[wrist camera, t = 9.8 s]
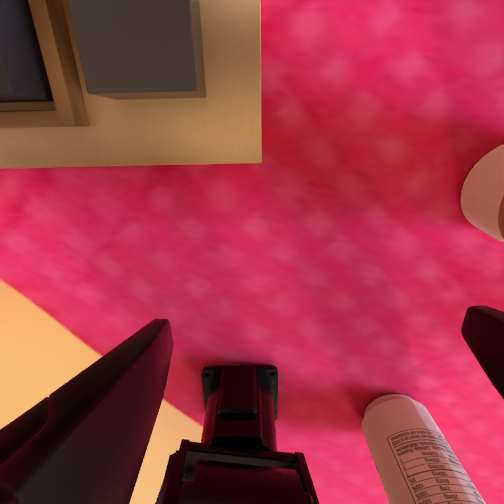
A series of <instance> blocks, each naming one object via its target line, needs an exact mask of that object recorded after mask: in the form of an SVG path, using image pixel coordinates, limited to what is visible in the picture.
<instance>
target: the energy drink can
mask: <svg viewBox="0 0 504 504" xmlns="http://www.w3.org/2000/svg"><path fill="white" fill-rule="evenodd" d="M362 430H363V433H364V435H365V438H366V441H367V443H368V446H369V449H370V452H371V454H372V457H373V460H374V462H375V465H376V468H377V471H378V473H379V476H380V479H381V481H382V484H383V487H384V490H385V492H386V495H387V498H388V500H389V503H390V504H486V503H485V502H484V500H483V498H482V497H481V495H480V494H479V492H478V490H477V489H476V487H475V486H474V484H473V482H472V481H471V479H470V478H469V476H468V474H467V473H466V471H465V470H464V468H463V466H462V465H461V463H460V462H459V460H458V458H457V457H456V455H455V454H454V452H453V450H452V449H451V447H450V446H449V444H448V442H447V441H446V439H445V438H444V436H443V434H442V433H441V431H440V430H439V428H438V426H437V425H436V423H435V422H434V420H433V418H432V417H431V415H430V414H429V412H428V410H427V409H426V407H425V406H424V405H422V404H421V403H419V402H417V401H415V400H413V399H412V398H410V397H409V396H406V395H403V394H388V395H384V396H381V397H379V398H377V399H375V400H374V401H372V402H371V403H370V404H369V405H368V406H367V408H366V410H365V412H364V419H363V421H362Z"/></svg>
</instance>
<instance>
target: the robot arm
mask: <svg viewBox="0 0 504 504" xmlns="http://www.w3.org/2000/svg"><path fill="white" fill-rule="evenodd" d="M461 332H462V336H463V338H464V340H465V341H466V343H467V344H468V346H469V348H470V349H471V351H472V352H473V354H474V356H475V357H476V359H477V360H478V362H479V364H480V365H481V367H482V368H483V370H484V372H485V373H486V375H487V376H488V378H489V379H490V381H491V382H492V384H493V385H494V387H495V388H496V390H497V391H498V392H499V394H500V395H501V396H502V398H503V399H504V312H502V311H499V310H496V309H493V308H490V307H488V306H471V307H469V308H468V309H467V311H466V314H465V318H464V321H463V324H462V328H461ZM172 351H173V337H172V332H171V327H170V322H169V320H168V319H154V320H152V321H151V322H150V323H148V324H147V325H146V326H144V327H143V328H141V329H140V330H139V331H137V332H136V333H135V334H133V335H132V336H130V337H129V338H128V339H126V340H125V341H123V342H122V343H121V344H119V345H118V346H117V347H115V348H114V349H112V350H111V351H110V352H108V353H107V354H105V355H104V356H103V357H101V358H100V359H99V360H97V361H96V362H95V363H93V364H92V365H90V366H89V367H88V368H86V369H85V370H83V371H82V372H81V373H79V374H78V375H77V376H75V377H74V378H72V379H71V380H70V381H68V382H67V383H65V384H64V385H63V386H61V387H60V388H58V389H57V390H56V391H54V392H53V393H52V394H50V396H49V397H46V398H44V399H43V400H42V401H40V402H39V403H38V404H36V405H35V406H34V407H32V408H31V409H29V410H28V411H26V412H25V413H24V414H22V415H21V416H19V417H18V418H16V419H15V420H14V421H12V422H11V423H9V424H8V425H7V426H5V427H3V428H2V429H1V430H0V504H129V503H130V500H131V496H132V493H133V490H134V487H135V483H136V481H137V478H138V474H139V471H140V468H141V465H142V462H143V459H144V456H145V452H146V449H147V446H148V443H149V440H150V436H151V434H152V430H153V427H154V424H155V421H156V418H157V415H158V412H159V408H160V405H161V402H162V399H163V395H164V390H165V386H166V381H167V376H168V371H169V366H170V361H171V356H172ZM271 371H273V372H271ZM207 372H208V373H207ZM201 376H202V384H203V392H204V401H205V409H206V414H205V420H204V427H203V433H202V439H201V443H197V442H189V440H185V439H182V441H181V445H180V449H179V451H178V450H177V451H176V453H174V454H172V455H170V457H169V461H168V465H167V469H166V473H165V477H164V480H163V483H162V486H161V489H160V492H159V495H158V498H157V501H156V503H155V504H319V501H318V498H317V495H316V492H315V489H314V486H313V482H312V479H311V476H310V473H309V470H308V467H307V464H306V460H305V457H304V454H303V453H300V452H295V453H287V452H278V451H277V441H276V429H275V421H276V420H277V393H278V370H277V368H276V367H275V366H216V367H204V368H203V369H202V374H201Z"/></svg>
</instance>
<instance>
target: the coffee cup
mask: <svg viewBox="0 0 504 504" xmlns="http://www.w3.org/2000/svg"><path fill="white" fill-rule="evenodd" d="M460 202H461V209H462V211H463V214H464V216H465V217H466V219H467V220H468V221H469V222H470V223H471V224H472V225H473V226H475V227H476V228H478V229H480V230H482V231H483V232H485V233H487V234H489V235H490V236H492V237H494V238H496V239H498V240H499V241H501V242H503V243H504V144H503V145H500V146H498V147H497V148H495V149H493V150H491V151H490V152H488V153H487V154H486V155H485V156H483V157H482V158H481V159H480V160H479V161H478V162H477V163H476V164H475V165H474V167H473V168H472V169H471V171H470V172H469V174H468V175H467V177H466V179H465V182H464V184H463V187H462V191H461V199H460Z"/></svg>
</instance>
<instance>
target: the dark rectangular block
mask: <svg viewBox="0 0 504 504" xmlns="http://www.w3.org/2000/svg"><path fill="white" fill-rule="evenodd" d="M51 101H54V99H53V95H52V91H51V87H50V84H49V80H48V76H47V72H46V68H45V64H44V60H43V57H42V53H41V49H40V45H39V41H38V37H37V33H36V30H35V26H34V22H33V18H32V14H31V10H30V6H29V2H28V0H0V103H12V102H51Z"/></svg>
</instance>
